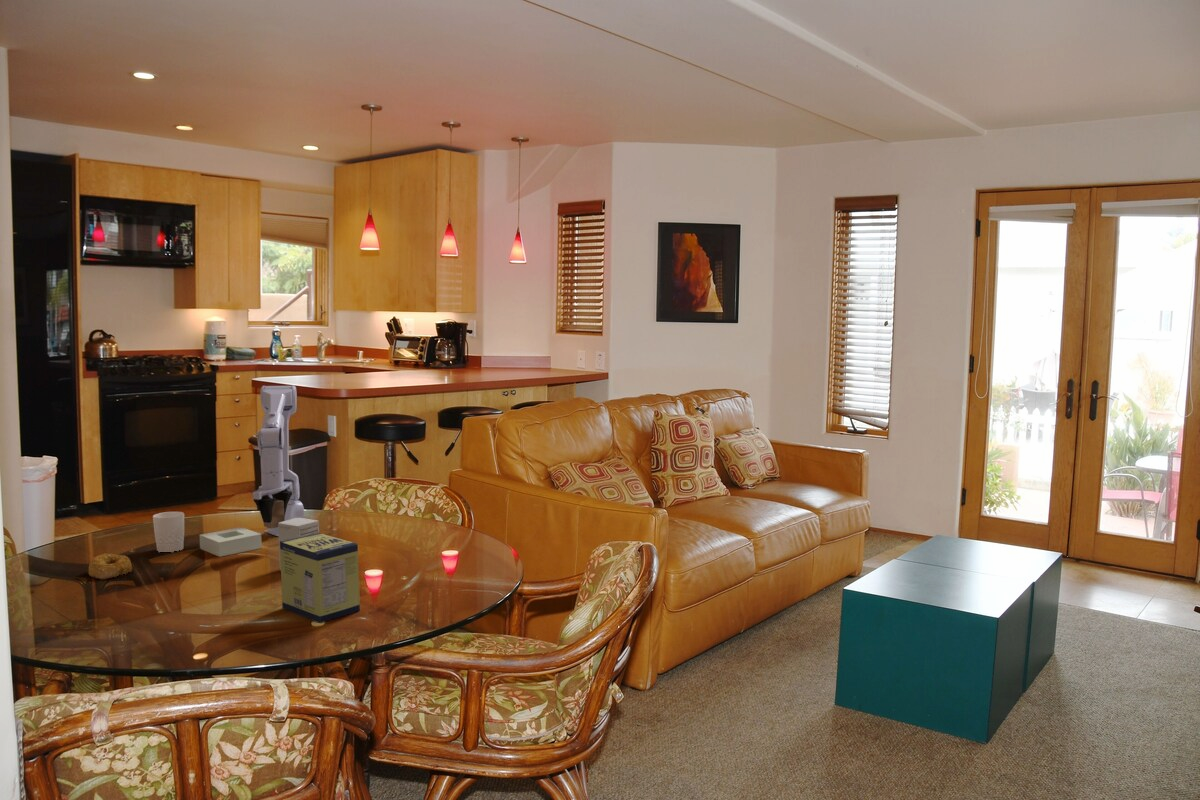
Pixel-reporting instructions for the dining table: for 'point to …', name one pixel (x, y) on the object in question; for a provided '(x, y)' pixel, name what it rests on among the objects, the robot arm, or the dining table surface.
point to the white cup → (169, 531)
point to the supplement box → (296, 530)
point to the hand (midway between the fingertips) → (274, 519)
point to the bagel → (109, 566)
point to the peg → (276, 514)
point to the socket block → (230, 541)
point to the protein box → (319, 577)
